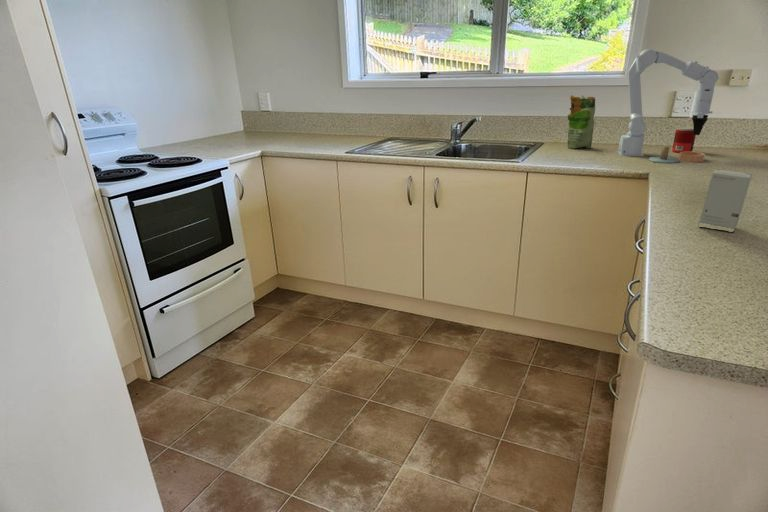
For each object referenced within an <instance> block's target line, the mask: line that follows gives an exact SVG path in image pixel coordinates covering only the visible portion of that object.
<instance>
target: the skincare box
mask: <svg viewBox="0 0 768 512" xmlns="http://www.w3.org/2000/svg"><path fill="white" fill-rule="evenodd" d="M752 176H753V174H752V173H747V172H739V171H731V170H724V169H715V170H714V171H713V172H712V175H711V178H710V182H709V185H708V189H707V193H706V196H705V201H704V204H703V207H702V211H701V215H700V219H699V222H698V224H699V223H706V224H710V225H714V226H721V227H726V228H731V229H735V228H737V227H738V223H739V220H740V217H741V213H742V210H743V206H744V203H745V200H746V197H747V194H748V190H749V187H750V183H751V180H752ZM736 226H737V227H736ZM735 230H736V229H735Z"/></svg>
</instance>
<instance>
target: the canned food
mask: <svg viewBox="0 0 768 512" xmlns="http://www.w3.org/2000/svg"><path fill="white" fill-rule="evenodd" d="M693 130H694V126H693V127H692V126H678V127H676V129H675V133H674V138H673V144H672V150H671V152H672V153H675V154H679V153H680V152H694V145H695V141H696V136H697V135H694V133H693Z"/></svg>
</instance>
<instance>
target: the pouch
mask: <svg viewBox="0 0 768 512" xmlns="http://www.w3.org/2000/svg"><path fill="white" fill-rule="evenodd" d="M569 98H570V108H569V110H570V113H569V114H567V120H568V133H567V148H568V149H571V150H572V149H574V150H575V149H589V148H592V143H593V134H594V129H595V120H594V118H595V117H594V116H595V114H596V97H594V96H587V97H586V96H584V95H581V97H580V96H575V95H573V94H572V95H570V96H569Z"/></svg>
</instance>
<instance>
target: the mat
mask: <svg viewBox="0 0 768 512" xmlns="http://www.w3.org/2000/svg"><path fill="white" fill-rule="evenodd" d="M649 158H650V157H647V159H648V160H649ZM652 163H653V164H659V163H658V162H652ZM675 164H681V161H678V162H676V163H675Z"/></svg>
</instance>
